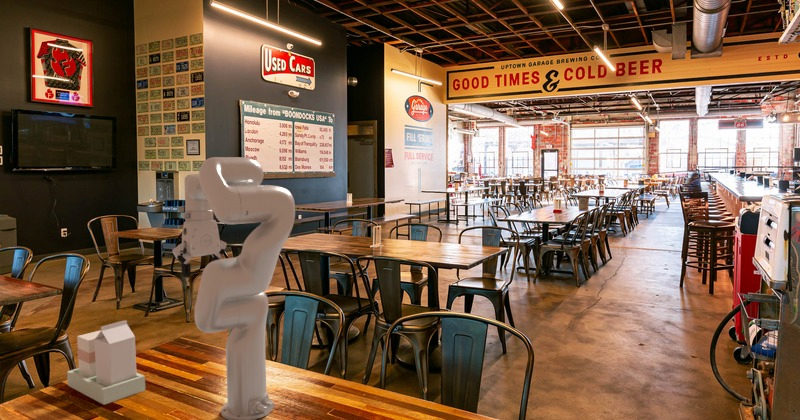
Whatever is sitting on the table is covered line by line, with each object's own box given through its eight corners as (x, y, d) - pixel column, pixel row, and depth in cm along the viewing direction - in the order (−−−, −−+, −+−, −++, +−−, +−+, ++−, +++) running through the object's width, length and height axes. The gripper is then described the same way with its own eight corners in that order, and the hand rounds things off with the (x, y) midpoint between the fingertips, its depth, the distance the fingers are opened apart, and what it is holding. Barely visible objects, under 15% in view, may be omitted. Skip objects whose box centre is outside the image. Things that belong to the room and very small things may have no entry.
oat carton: (115, 382, 152) (113, 334, 151) (90, 390, 147) (88, 340, 146) (104, 376, 156) (101, 330, 155) (79, 384, 151) (76, 336, 150)
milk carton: (137, 389, 147) (134, 322, 146) (112, 399, 141) (108, 328, 140) (122, 384, 151) (118, 318, 149) (96, 393, 145) (93, 324, 143)
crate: (145, 392, 147) (144, 376, 147) (104, 407, 138) (103, 389, 138) (108, 375, 159) (107, 359, 159) (67, 388, 150) (67, 371, 150)
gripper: (179, 219, 147) (181, 281, 148) (232, 214, 161) (234, 271, 162) (164, 218, 151) (166, 277, 153) (217, 213, 165) (219, 268, 167)
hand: (201, 274), depth 158 cm, fingers open, 9 cm apart
